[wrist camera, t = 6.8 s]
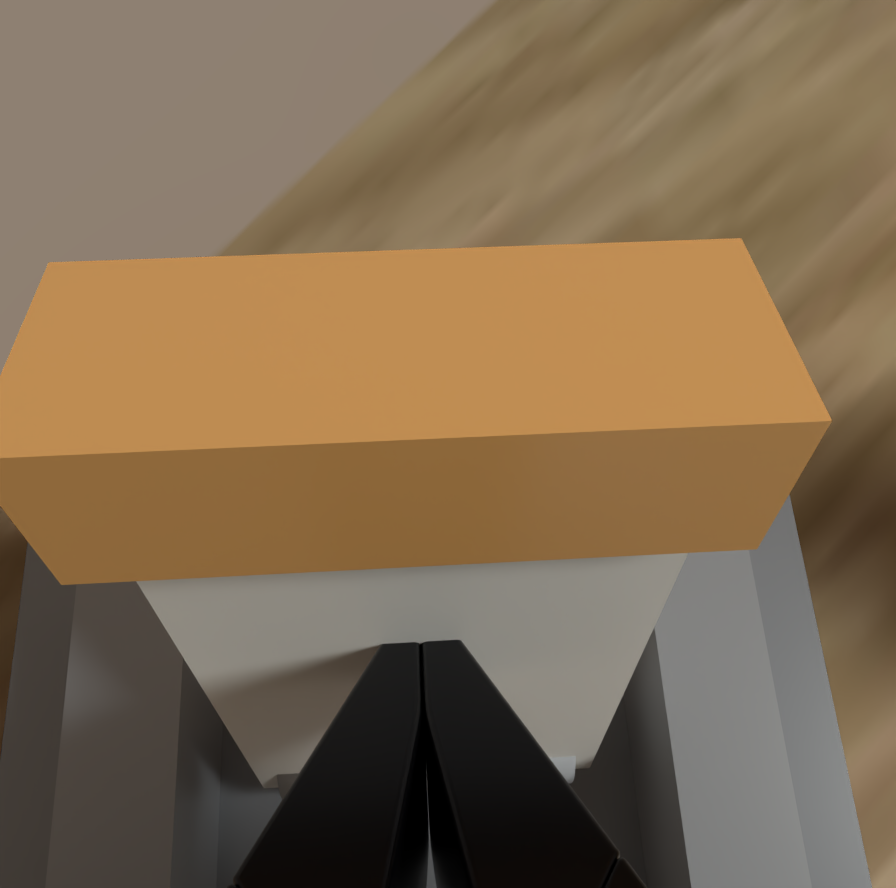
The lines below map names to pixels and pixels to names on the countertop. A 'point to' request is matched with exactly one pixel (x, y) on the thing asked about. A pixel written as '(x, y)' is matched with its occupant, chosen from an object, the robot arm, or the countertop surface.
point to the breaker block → (599, 787)
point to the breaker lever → (404, 461)
